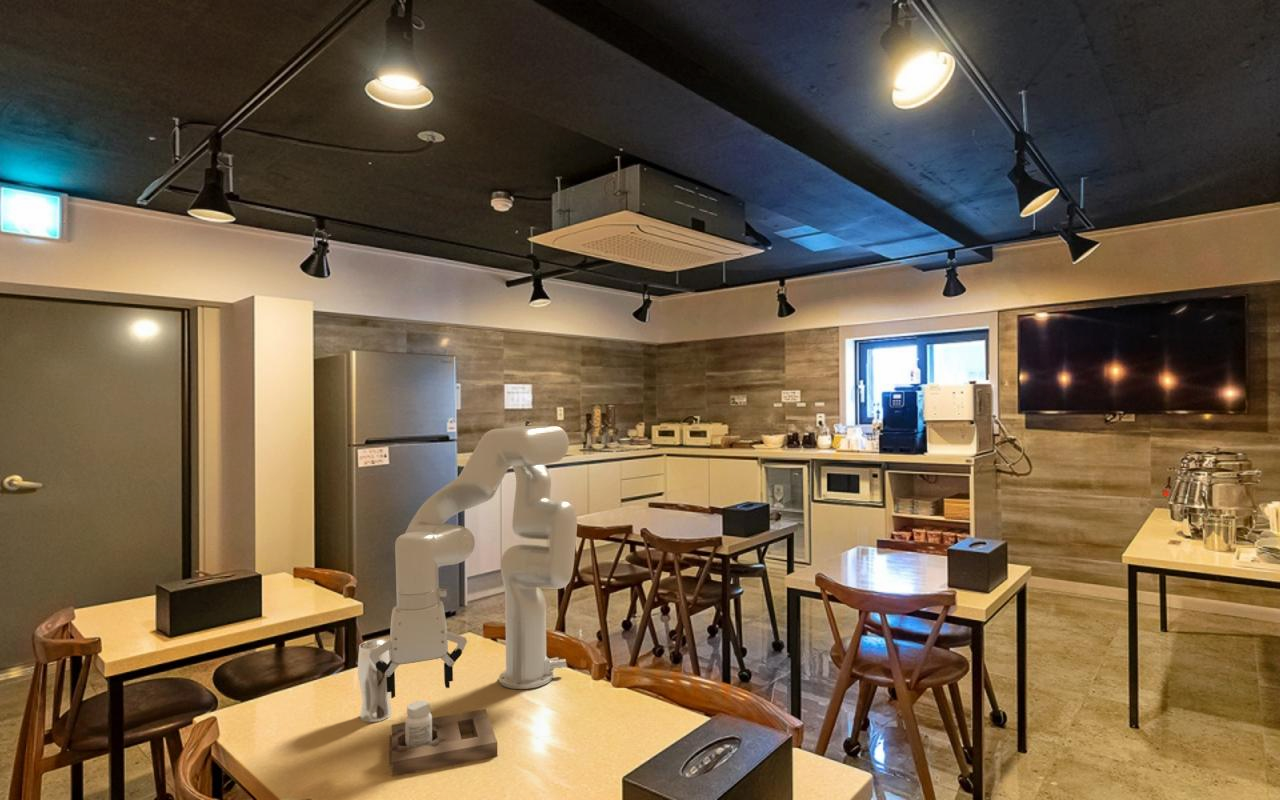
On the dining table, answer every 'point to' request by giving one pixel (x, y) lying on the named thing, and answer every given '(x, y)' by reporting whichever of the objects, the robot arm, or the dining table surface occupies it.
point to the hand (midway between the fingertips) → (420, 690)
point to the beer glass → (373, 683)
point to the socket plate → (444, 743)
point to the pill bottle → (418, 724)
